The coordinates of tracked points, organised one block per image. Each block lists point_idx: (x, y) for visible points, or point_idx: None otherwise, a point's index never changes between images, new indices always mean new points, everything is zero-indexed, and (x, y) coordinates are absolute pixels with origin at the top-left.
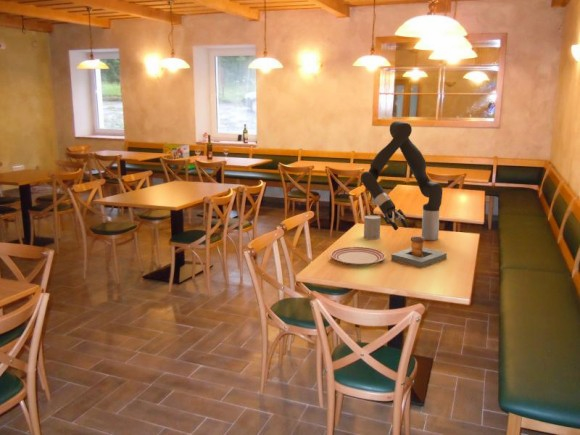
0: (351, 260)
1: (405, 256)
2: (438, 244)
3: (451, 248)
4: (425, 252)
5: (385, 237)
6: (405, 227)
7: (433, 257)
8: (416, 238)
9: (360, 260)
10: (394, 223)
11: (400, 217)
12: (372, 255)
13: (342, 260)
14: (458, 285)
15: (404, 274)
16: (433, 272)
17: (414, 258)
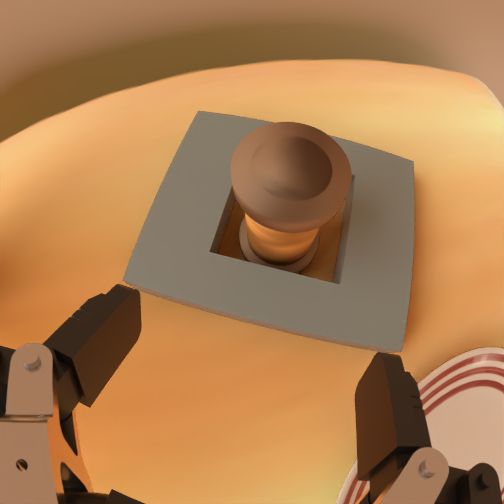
0: None
1: (393, 259)
2: (3, 233)
3: (44, 170)
4: (230, 193)
5: None
6: (139, 328)
7: None
8: (324, 165)
9: (474, 451)
10: (417, 428)
11: (59, 437)
12: None
13: None
14: (440, 80)
15: (493, 215)
16: (411, 134)
17: (392, 204)
